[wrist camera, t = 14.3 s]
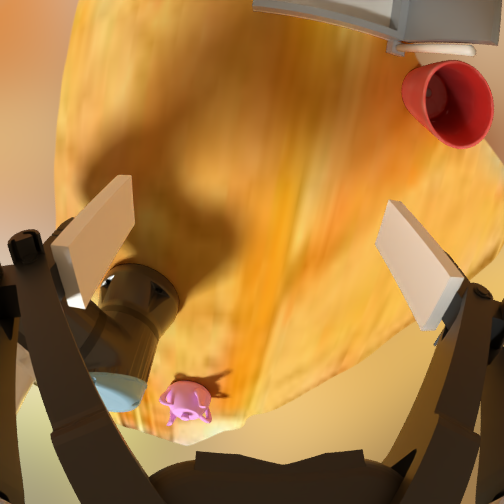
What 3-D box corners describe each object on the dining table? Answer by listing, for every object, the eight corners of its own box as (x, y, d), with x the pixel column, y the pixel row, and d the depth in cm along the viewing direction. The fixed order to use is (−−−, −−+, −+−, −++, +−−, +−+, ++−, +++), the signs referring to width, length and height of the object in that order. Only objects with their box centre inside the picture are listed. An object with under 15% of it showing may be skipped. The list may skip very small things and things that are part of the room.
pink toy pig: (172, 399, 79) (166, 426, 71) (161, 372, 71) (154, 402, 63) (214, 403, 78) (211, 431, 71) (209, 376, 70) (205, 408, 63)
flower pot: (423, 42, 30) (462, 42, 22) (466, 101, 34) (506, 116, 26) (375, 86, 35) (405, 96, 27) (422, 143, 38) (456, 167, 30)
